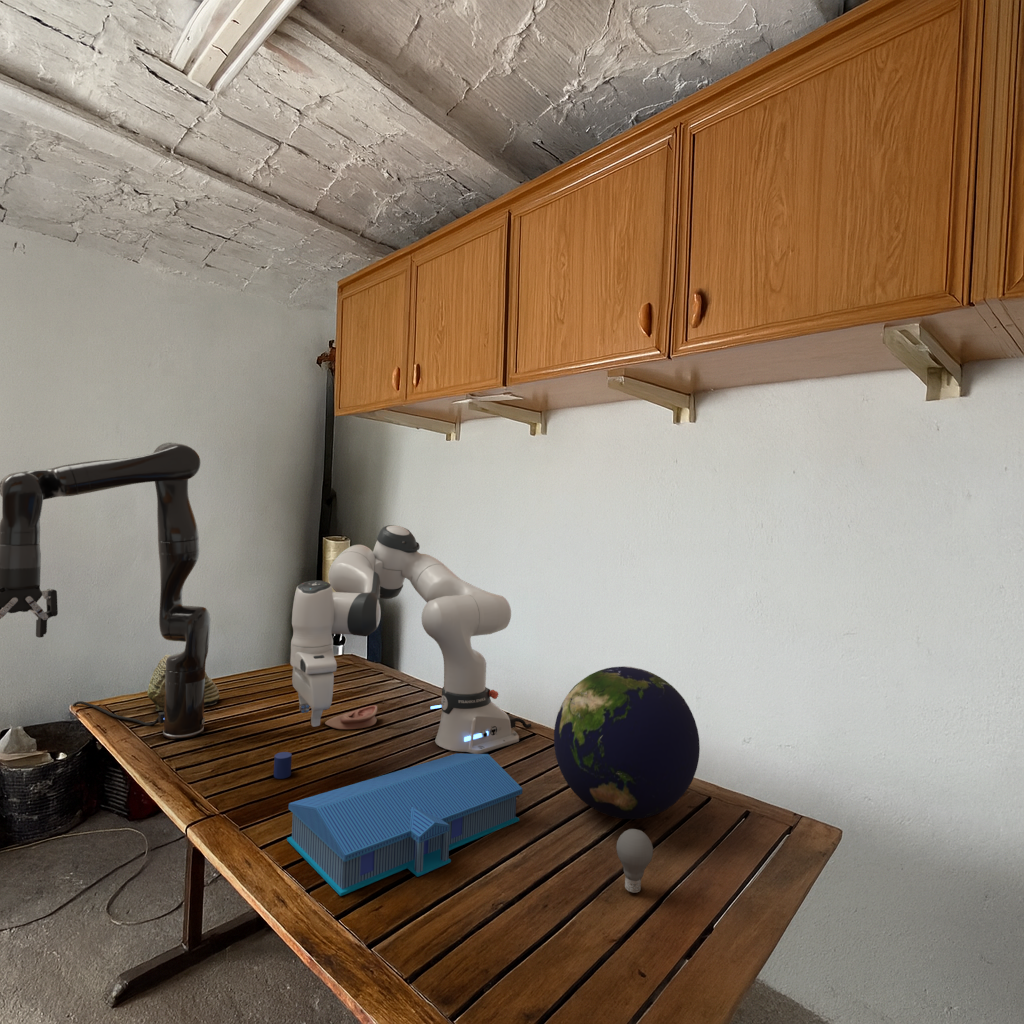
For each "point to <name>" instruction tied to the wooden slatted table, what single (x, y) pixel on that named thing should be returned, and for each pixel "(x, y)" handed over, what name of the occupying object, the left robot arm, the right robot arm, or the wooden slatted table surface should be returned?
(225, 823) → the wooden slatted table surface
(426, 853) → the model building
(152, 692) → the fossil
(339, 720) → the anatomical model
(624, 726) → the globe
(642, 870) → the light bulb
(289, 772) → the canister
